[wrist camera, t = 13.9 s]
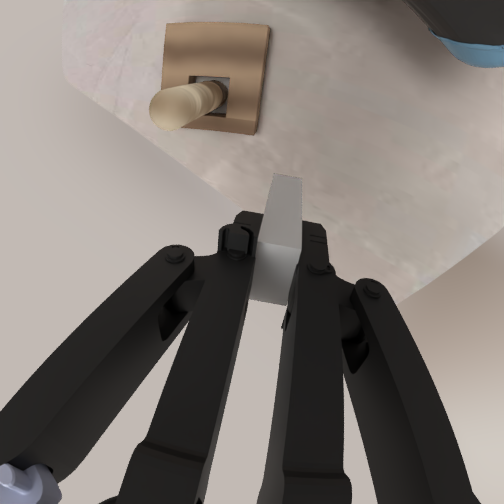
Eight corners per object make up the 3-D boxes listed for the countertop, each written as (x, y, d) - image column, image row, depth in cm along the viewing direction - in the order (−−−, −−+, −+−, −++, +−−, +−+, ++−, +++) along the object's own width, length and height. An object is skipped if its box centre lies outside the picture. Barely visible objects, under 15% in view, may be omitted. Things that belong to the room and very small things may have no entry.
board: (174, 25, 32) (166, 23, 30) (270, 28, 31) (268, 25, 29) (168, 122, 41) (159, 126, 39) (256, 131, 41) (253, 135, 38)
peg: (199, 79, 37) (149, 87, 24) (229, 81, 37) (192, 88, 24) (197, 107, 40) (148, 130, 27) (226, 109, 39) (189, 132, 26)
